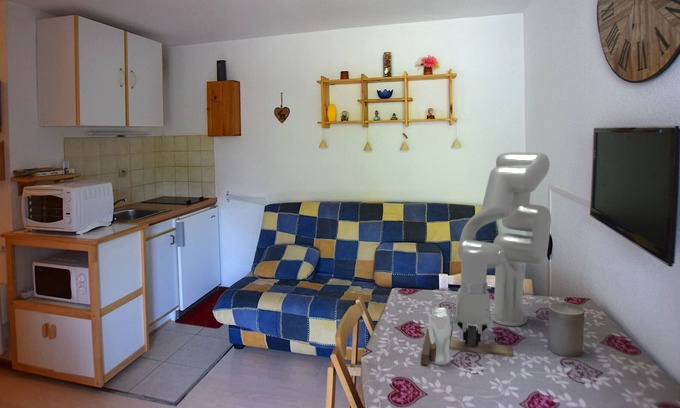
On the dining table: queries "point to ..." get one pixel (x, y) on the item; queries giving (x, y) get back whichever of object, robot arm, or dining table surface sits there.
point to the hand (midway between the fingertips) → (471, 342)
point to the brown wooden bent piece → (466, 346)
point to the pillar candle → (565, 329)
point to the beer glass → (440, 335)
